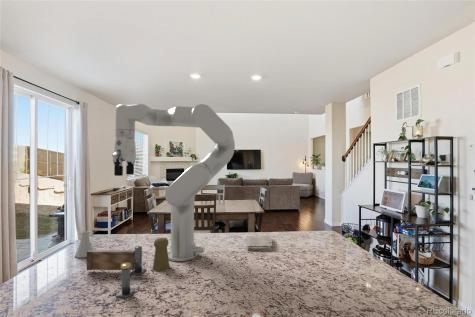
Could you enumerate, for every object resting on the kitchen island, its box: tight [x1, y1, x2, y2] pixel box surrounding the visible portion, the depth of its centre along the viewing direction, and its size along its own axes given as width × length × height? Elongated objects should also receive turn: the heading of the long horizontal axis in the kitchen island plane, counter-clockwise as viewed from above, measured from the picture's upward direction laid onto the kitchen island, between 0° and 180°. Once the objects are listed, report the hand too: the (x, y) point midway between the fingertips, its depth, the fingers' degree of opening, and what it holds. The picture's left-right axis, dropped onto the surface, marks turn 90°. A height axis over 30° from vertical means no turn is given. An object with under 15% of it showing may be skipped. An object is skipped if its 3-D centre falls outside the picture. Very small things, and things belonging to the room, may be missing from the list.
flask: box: [74, 230, 95, 259], centre depth 108 cm, size 7×7×10 cm
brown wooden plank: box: [86, 249, 135, 271], centre depth 91 cm, size 17×2×6 cm, turn 88°
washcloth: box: [246, 235, 273, 252], centre depth 120 cm, size 12×18×3 cm, turn 179°
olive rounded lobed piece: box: [152, 237, 171, 272], centre depth 95 cm, size 6×6×11 cm
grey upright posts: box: [115, 245, 147, 299], centre depth 83 cm, size 7×19×9 cm, turn 178°
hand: (124, 175), depth 107 cm, fingers open, 9 cm apart
